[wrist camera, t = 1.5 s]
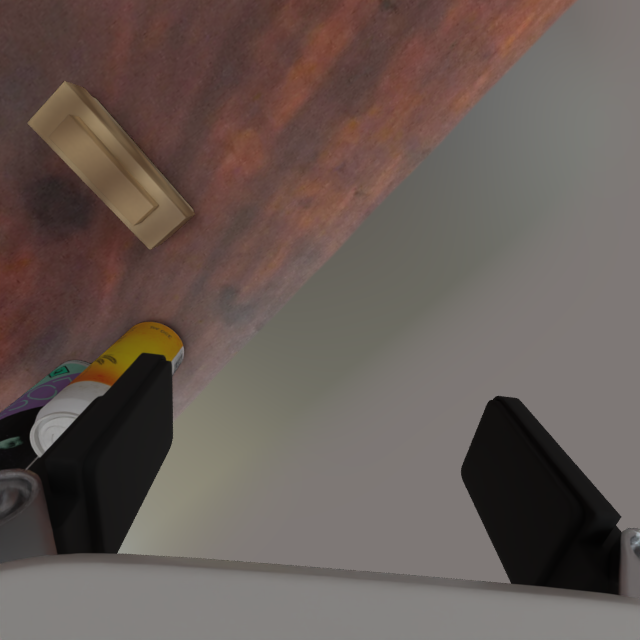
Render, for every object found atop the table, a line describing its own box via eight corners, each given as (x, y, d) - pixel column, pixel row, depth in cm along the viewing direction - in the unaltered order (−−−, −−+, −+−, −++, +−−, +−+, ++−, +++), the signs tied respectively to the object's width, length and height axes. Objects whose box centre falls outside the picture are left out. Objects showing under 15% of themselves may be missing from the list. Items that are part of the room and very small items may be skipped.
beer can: (129, 312, 37) (19, 401, 23) (189, 325, 38) (117, 418, 24) (127, 363, 39) (26, 470, 26) (184, 374, 40) (115, 484, 26)
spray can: (102, 360, 39) (-85, 535, 21) (111, 402, 41) (-51, 593, 23) (50, 358, 39) (-185, 533, 21) (62, 401, 41) (-141, 592, 23)
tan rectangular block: (59, 127, 30) (14, 121, 26) (94, 90, 29) (53, 77, 25) (166, 241, 34) (143, 253, 30) (199, 212, 33) (181, 220, 29)
